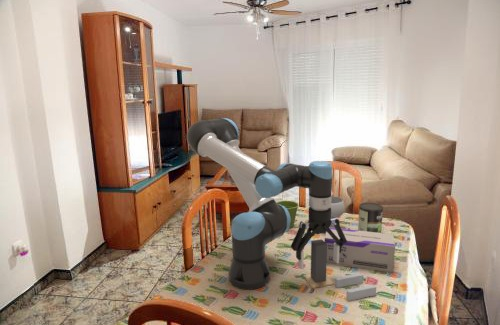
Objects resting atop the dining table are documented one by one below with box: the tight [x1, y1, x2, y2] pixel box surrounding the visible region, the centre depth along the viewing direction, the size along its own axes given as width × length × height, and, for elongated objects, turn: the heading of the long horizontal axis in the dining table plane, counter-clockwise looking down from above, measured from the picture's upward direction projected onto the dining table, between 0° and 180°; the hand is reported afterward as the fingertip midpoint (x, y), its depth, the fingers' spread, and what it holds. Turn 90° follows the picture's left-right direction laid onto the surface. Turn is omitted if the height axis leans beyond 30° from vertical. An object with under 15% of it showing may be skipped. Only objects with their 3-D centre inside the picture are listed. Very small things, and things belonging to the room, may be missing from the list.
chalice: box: [324, 195, 346, 234], centre depth 160 cm, size 14×14×15 cm
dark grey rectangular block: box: [310, 238, 328, 283], centre depth 117 cm, size 4×4×14 cm
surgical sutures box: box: [324, 227, 396, 274], centre depth 130 cm, size 25×11×11 cm, turn 70°
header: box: [334, 272, 377, 302], centre depth 112 cm, size 10×9×3 cm
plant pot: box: [275, 200, 300, 229], centre depth 165 cm, size 12×12×11 cm
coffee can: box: [357, 202, 384, 233], centre depth 152 cm, size 10×10×14 cm
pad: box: [302, 273, 335, 289], centre depth 119 cm, size 8×8×1 cm
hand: (318, 264), depth 117 cm, fingers open, 13 cm apart
